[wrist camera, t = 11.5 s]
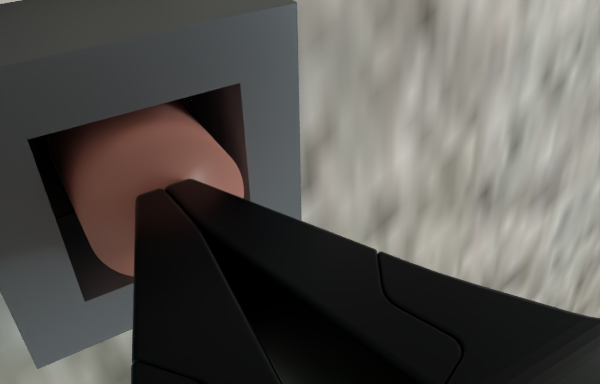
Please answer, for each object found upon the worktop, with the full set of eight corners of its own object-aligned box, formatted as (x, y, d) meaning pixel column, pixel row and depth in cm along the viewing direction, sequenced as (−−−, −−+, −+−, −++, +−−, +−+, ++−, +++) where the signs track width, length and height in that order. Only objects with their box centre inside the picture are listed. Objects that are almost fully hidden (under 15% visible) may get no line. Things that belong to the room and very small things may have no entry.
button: (68, 209, 10) (107, 300, 9) (28, 90, 9) (66, 169, 7) (190, 170, 11) (249, 244, 10) (172, 56, 10) (237, 118, 8)
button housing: (13, 278, 11) (37, 368, 9) (-102, 21, 8) (-97, 86, 6) (247, 194, 13) (302, 256, 11) (227, -35, 10) (296, 2, 8)
